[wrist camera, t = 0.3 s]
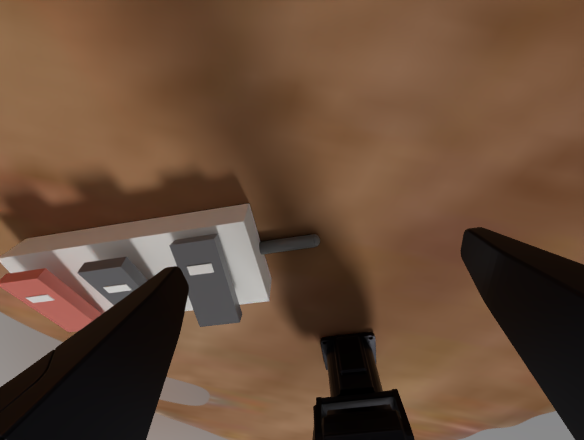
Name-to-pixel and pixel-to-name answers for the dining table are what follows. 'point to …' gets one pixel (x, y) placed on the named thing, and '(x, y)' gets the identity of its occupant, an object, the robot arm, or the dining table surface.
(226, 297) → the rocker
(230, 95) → the dining table surface
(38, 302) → the rocker red
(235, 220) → the power strip
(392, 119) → the dining table surface
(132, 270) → the rocker middle
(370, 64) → the dining table surface
